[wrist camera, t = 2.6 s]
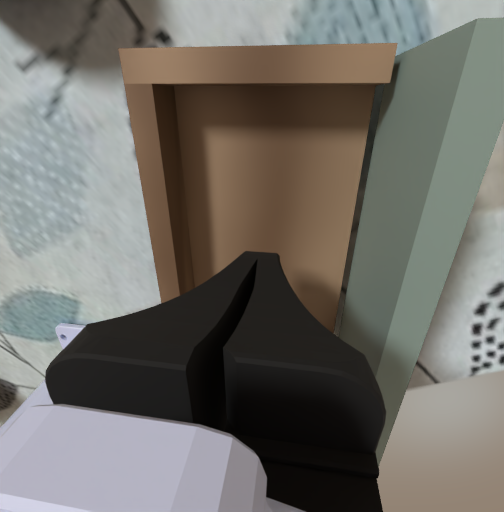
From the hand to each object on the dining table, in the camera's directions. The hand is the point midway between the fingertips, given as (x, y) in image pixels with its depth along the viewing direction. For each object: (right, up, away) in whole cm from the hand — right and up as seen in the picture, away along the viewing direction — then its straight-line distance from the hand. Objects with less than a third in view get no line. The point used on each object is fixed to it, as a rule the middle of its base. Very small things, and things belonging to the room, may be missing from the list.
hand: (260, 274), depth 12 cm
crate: (0, +2, +4) cm, 5 cm away
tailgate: (+5, +1, +2) cm, 6 cm away
